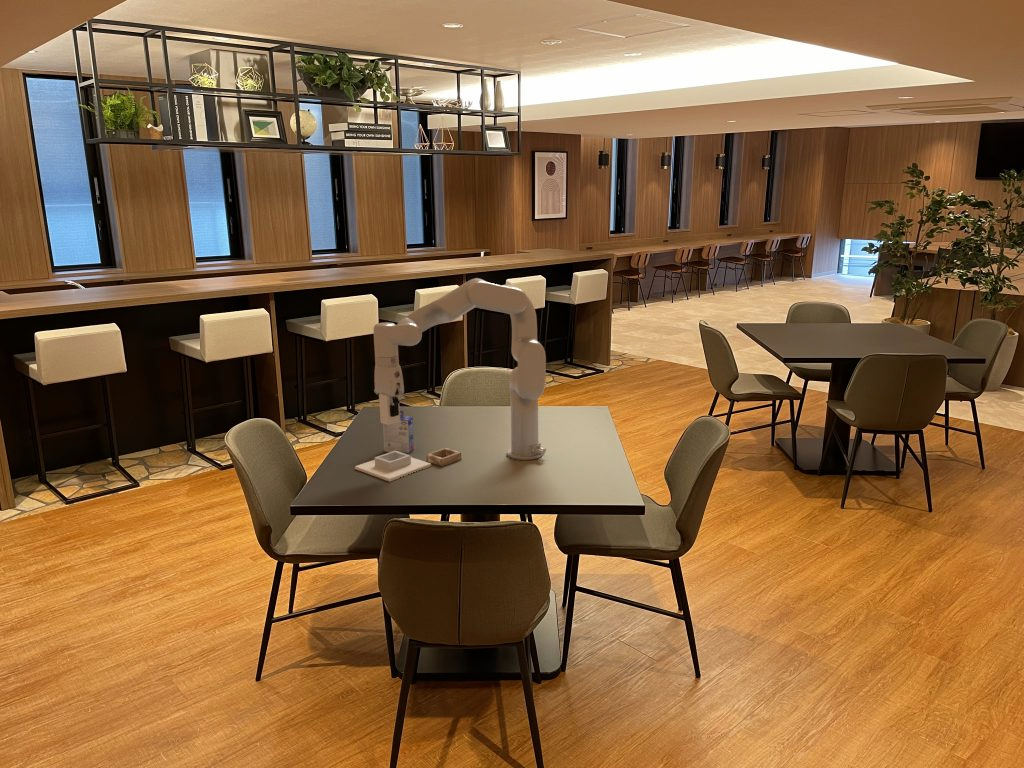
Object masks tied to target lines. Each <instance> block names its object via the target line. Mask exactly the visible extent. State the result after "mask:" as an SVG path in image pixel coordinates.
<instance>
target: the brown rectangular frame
mask: <svg viewBox="0 0 1024 768" xmlns="http://www.w3.org/2000/svg"><path fill="white" fill-rule="evenodd" d="M445 455H446V456H445ZM425 457H426V460H425V461H426V462H428V463H431V464H435V465H437V466H441V467H445V466H447V465H451V464H452V463H456V462H458V461H460V459H461V460H462V452H461V451H457V450H454V449H453V448H448V447H443V448H440V449H438V450H435V451H431V452H428V453H426V455H425ZM444 465H445V466H444Z"/></svg>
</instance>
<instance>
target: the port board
mask: <svg viewBox="0 0 1024 768" xmlns="http://www.w3.org/2000/svg"><path fill="white" fill-rule="evenodd" d="M430 466H431V467H432V463H431V462H428V461H426V460H425V461H424V460H421V459H418V458H414V457H413V456H411V455H410V454H408V453H401V452H398V451H392V452H386V453H384V454H381V455H378V456H375V457H374V459H373V460H370V461H366V462H363V463H361V464H357V465H355V467H354V468H355V470H357V471H359V472H362V473H365V474H368V475H371V476H373V477H376V478H378V479H381V480H384V481H386V482H393V481H395V480H397V479H401V478H403V476H404V477H407V476H409V475H411V473H412V474H414V473H413V472H415V473H417V472H420V471H423V470H425V469H427V468H430ZM422 469H423V470H422ZM419 470H420V471H419ZM416 471H417V472H416ZM408 474H409V475H408ZM400 477H401V478H400Z"/></svg>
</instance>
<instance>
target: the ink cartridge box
mask: <svg viewBox="0 0 1024 768" xmlns="http://www.w3.org/2000/svg"><path fill="white" fill-rule="evenodd" d="M382 432H383V433H382V434H383V451H384V452H386V453H389V452H392V451H398V452H401V453H404V454H410V453H411V452H412V451H413V449H414V450H415V436H414V433H415V432H414V417H413V416H404V410H400V422H397V423H393V424H390V425H387V424H383V423H382Z"/></svg>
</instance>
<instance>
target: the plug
mask: <svg viewBox="0 0 1024 768" xmlns="http://www.w3.org/2000/svg"><path fill="white" fill-rule="evenodd" d="M393 398H394V399H395V397H393ZM378 401H379V416H380V418H379V419H380V423H381V424H382V425H383V424H387V425H390V424H393V423H397V422H400V415H401V413H400V411H401V410H400V403H399V404H398V407H399V415H397V416H394V417H391V416H390V405H391V402H390V396H388V395H385V394H381V393H380V394H379V398H378Z"/></svg>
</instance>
